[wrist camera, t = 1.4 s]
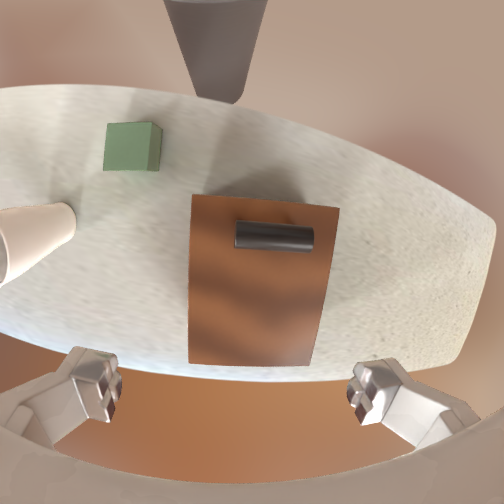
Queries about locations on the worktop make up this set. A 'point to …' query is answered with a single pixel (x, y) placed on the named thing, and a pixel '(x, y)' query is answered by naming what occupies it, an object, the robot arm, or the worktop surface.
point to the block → (132, 147)
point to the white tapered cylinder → (32, 235)
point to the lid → (257, 279)
